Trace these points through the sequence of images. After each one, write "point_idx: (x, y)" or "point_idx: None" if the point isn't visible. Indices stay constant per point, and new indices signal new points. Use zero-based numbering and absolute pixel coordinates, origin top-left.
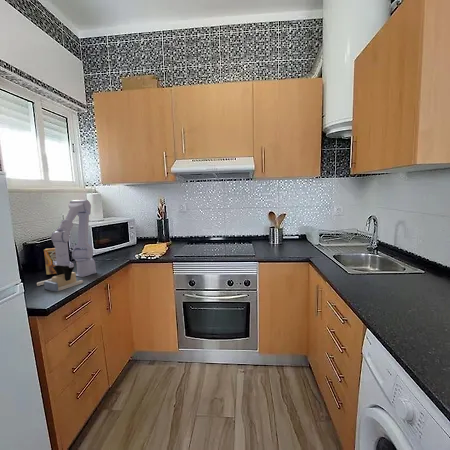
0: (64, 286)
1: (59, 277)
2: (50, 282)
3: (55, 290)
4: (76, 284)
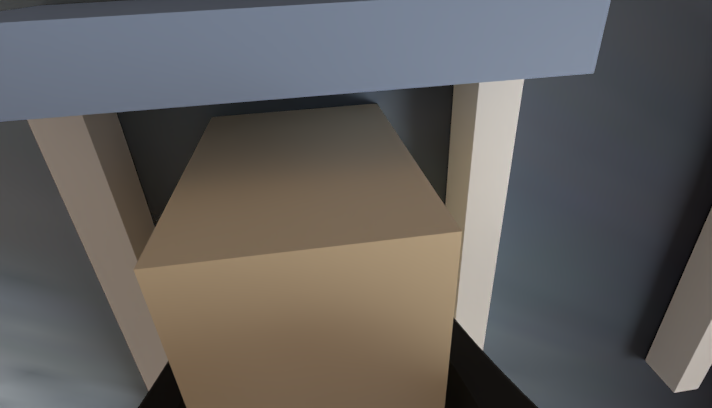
0: (77, 218)
1: (171, 343)
2: (244, 32)
3: (39, 6)
4: None
